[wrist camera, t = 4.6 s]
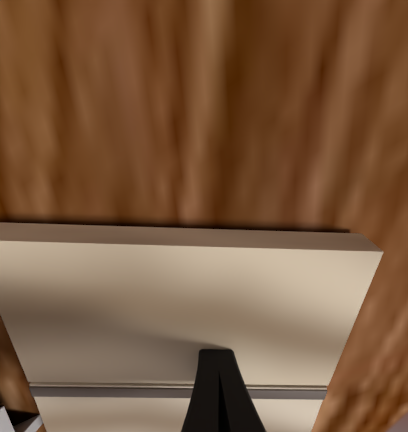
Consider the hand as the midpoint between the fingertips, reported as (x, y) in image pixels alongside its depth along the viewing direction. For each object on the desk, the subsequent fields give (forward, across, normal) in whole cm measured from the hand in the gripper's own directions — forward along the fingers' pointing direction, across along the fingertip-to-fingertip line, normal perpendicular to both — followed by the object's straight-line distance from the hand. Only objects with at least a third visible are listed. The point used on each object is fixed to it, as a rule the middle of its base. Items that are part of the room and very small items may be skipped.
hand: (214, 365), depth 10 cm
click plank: (+1, +1, -2) cm, 3 cm away
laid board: (+1, +1, +5) cm, 5 cm away
